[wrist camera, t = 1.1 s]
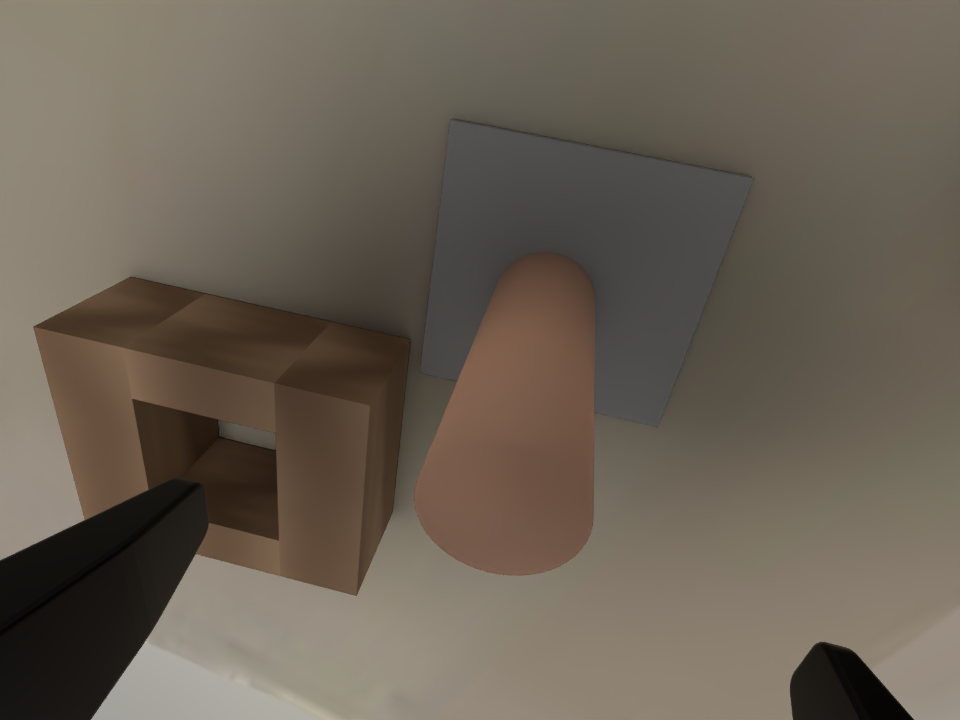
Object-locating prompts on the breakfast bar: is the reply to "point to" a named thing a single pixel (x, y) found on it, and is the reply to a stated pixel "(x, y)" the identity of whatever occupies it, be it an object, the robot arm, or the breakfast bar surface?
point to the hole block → (234, 421)
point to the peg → (519, 428)
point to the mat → (582, 250)
